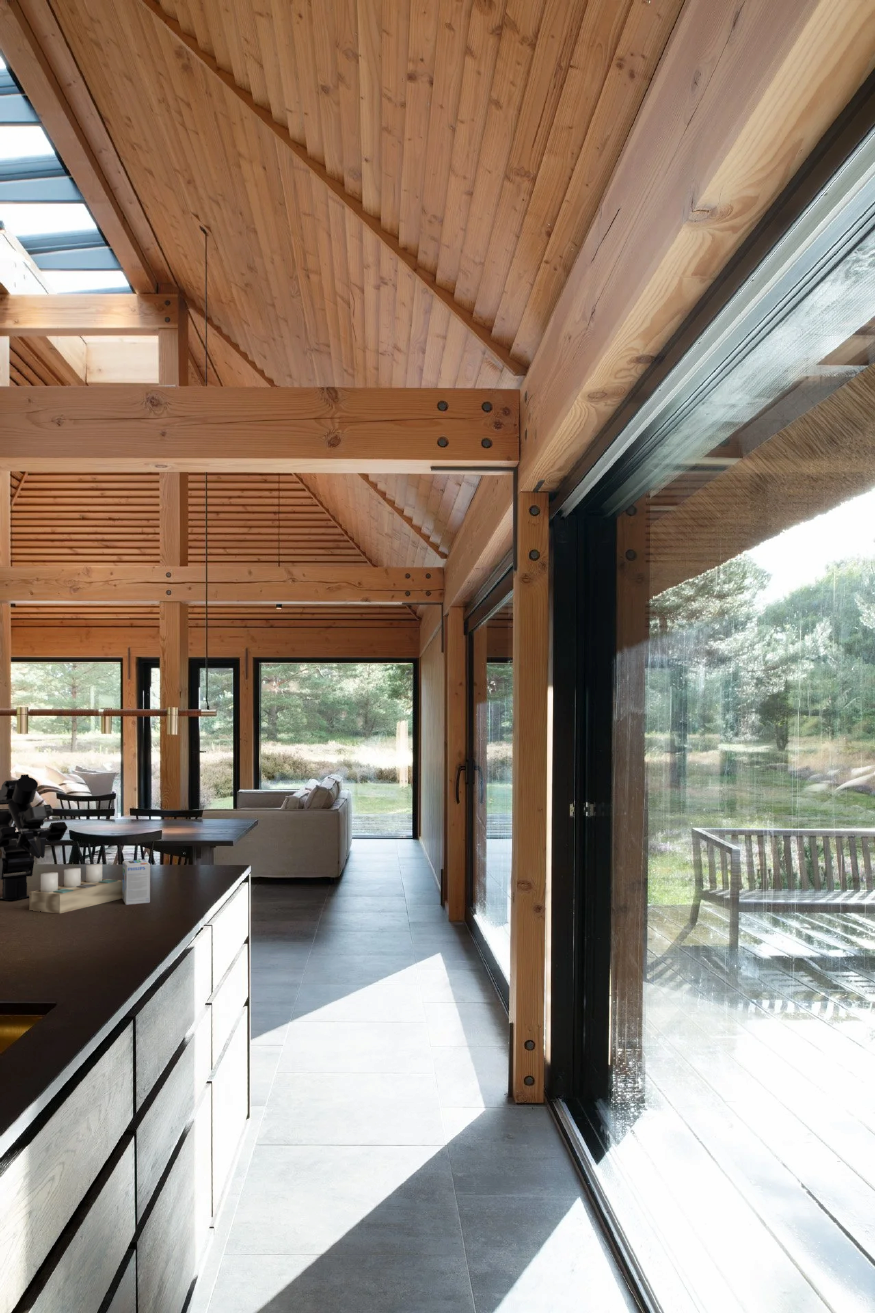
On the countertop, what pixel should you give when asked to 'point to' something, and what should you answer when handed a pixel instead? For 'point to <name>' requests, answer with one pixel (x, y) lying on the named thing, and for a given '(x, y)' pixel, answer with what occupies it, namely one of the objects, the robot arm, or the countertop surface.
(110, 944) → the countertop surface
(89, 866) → the button
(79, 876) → the button
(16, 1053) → the countertop surface
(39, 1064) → the countertop surface
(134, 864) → the light bulb box
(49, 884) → the button
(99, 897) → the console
